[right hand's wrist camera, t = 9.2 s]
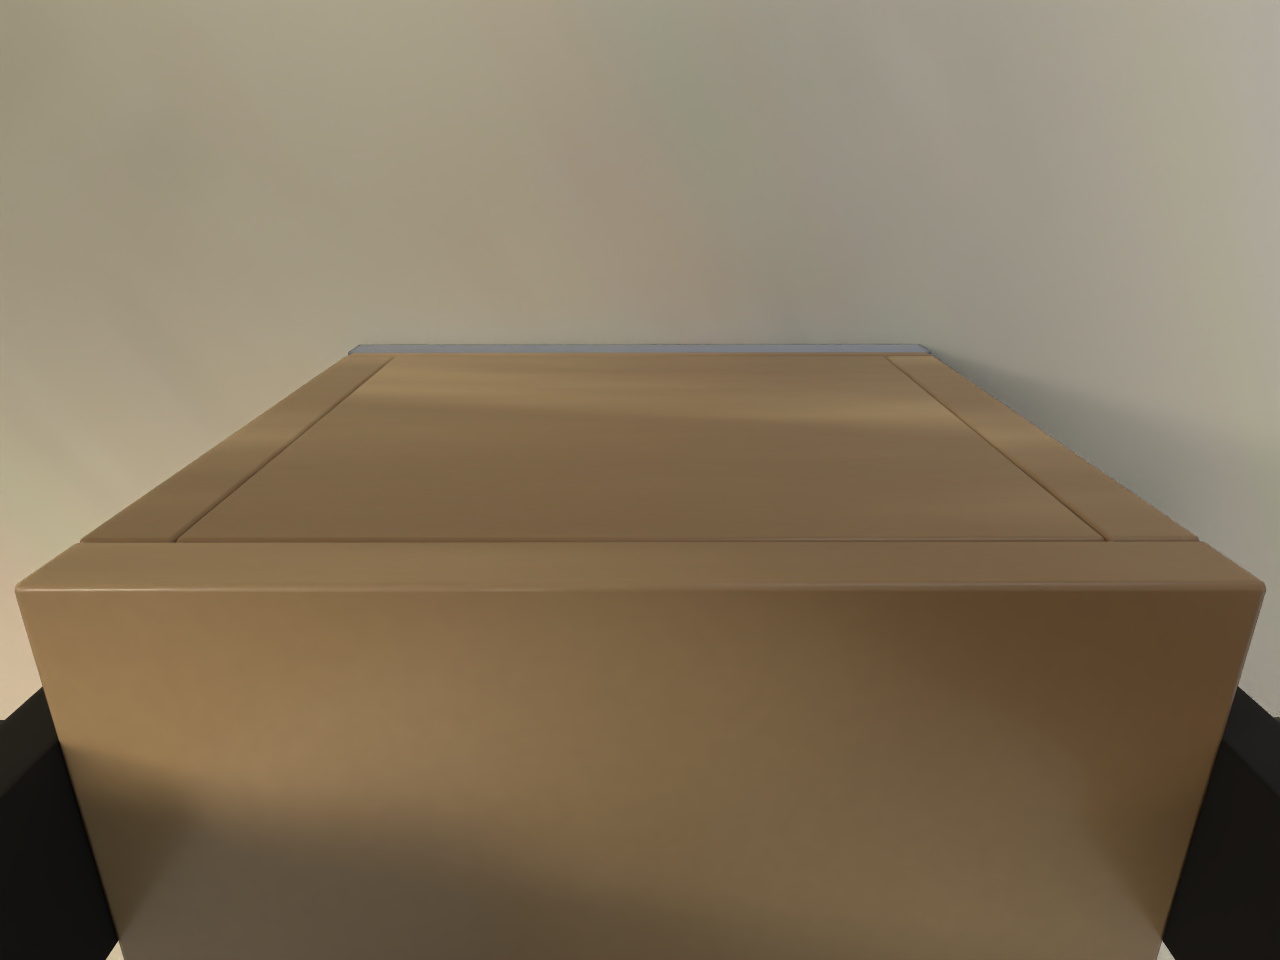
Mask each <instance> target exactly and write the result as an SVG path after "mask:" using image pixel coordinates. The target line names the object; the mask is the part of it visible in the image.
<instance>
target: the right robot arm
mask: <svg viewBox="0 0 1280 960" xmlns="http://www.w3.org/2000/svg"><path fill="white" fill-rule="evenodd" d="M1162 941H1163V942H1164V944H1165V945H1166V947H1167V948H1168V950H1169V951H1170V953H1171V954H1172V956H1173V957H1174V959H1175V960H1280V717H1272V716H1271V715H1270V714H1269V713H1268V712H1266V711H1265V710H1264V709H1263V708H1262V707H1261V706H1260V705H1259V704H1257V703H1256V702H1255V701H1254V700H1253V699H1252V698H1251V697H1250V696H1248V695H1247V694H1246V693H1245V692H1244V691H1243V690H1242V689H1241V688H1239V687H1238V686H1237V690H1236V693H1235V696H1234V700H1233V703H1232V706H1231V710H1230V713H1229V717H1228V720H1227V723H1226V727H1225V730H1224V733H1223V737H1222V740H1221V744H1220V747H1219V750H1218V754H1217V757H1216V760H1215V764H1214V767H1213V771H1212V774H1211V777H1210V781H1209V784H1208V787H1207V791H1206V794H1205V798H1204V801H1203V804H1202V808H1201V811H1200V814H1199V818H1198V821H1197V824H1196V828H1195V831H1194V835H1193V838H1192V841H1191V845H1190V848H1189V851H1188V855H1187V858H1186V862H1185V865H1184V868H1183V872H1182V875H1181V878H1180V882H1179V885H1178V889H1177V892H1176V895H1175V899H1174V902H1173V905H1172V909H1171V912H1170V916H1169V919H1168V922H1167V926H1166V929H1165V932H1164V936H1163V939H1162ZM117 942H118V937H117V934H116V930H115V927H114V924H113V920H112V917H111V914H110V910H109V907H108V903H107V900H106V897H105V893H104V890H103V887H102V883H101V880H100V877H99V873H98V870H97V866H96V863H95V860H94V856H93V853H92V850H91V846H90V843H89V840H88V836H87V833H86V830H85V826H84V823H83V819H82V816H81V813H80V809H79V806H78V803H77V799H76V796H75V793H74V789H73V786H72V783H71V779H70V776H69V772H68V769H67V766H66V762H65V759H64V756H63V752H62V749H61V746H60V742H59V739H58V736H57V732H56V729H55V725H54V722H53V719H52V715H51V712H50V709H49V705H48V702H47V699H46V695H45V692H44V689H43V687H42V688H40V689H39V690H38V691H37V692H36V693H35V694H34V695H33V696H31V697H30V698H29V699H28V700H27V701H26V702H25V703H24V704H22V705H21V706H20V707H19V708H18V709H17V710H16V711H15V712H13V713H12V714H11V715H10V716H9V717H8V718H7V719H6V720H0V960H106V958H107V957H108V955H109V954H110V952H111V951H112V949H113V948H114V946H115V945H116V943H117Z"/></svg>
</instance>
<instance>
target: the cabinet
mask: <svg viewBox="0 0 1280 960" xmlns="http://www.w3.org/2000/svg"><path fill="white" fill-rule="evenodd" d="M348 354H349V355H348V356H347V357H344V358H343V359H341V360H340V361H338V362H337V363H335V364H334V365H332V366H331V367H330V368H328V369H327V370H325V371H324V372H322V373H321V374H319V375H318V376H317V377H315V378H314V379H312V380H311V381H309V382H308V383H306V384H305V385H303V386H302V387H301V388H299V389H298V390H296V391H295V392H293V393H292V394H290V395H289V396H288V397H286V398H285V399H283V400H282V401H280V402H279V403H277V404H276V405H274V406H273V407H272V408H270V409H269V410H267V411H266V412H264V413H263V414H261V415H260V416H259V417H257V418H256V419H254V420H253V421H251V422H250V423H248V424H247V425H246V426H244V427H243V428H241V429H240V430H238V431H237V432H235V433H234V434H232V435H231V436H230V437H228V438H227V439H225V440H224V441H222V442H221V443H219V444H218V445H217V446H215V447H214V448H212V449H211V450H209V451H208V452H206V453H205V454H204V455H202V456H201V457H199V458H198V459H196V460H195V461H193V462H192V463H190V464H189V465H188V466H186V467H185V468H183V469H182V470H180V471H179V472H177V473H176V474H175V475H173V476H172V477H170V478H169V479H167V480H166V481H164V482H163V483H161V484H160V485H159V486H157V487H156V488H154V489H153V490H151V491H150V492H148V493H147V494H146V495H144V496H143V497H141V498H140V499H138V500H137V501H135V502H134V503H133V504H131V505H130V506H128V507H127V508H125V509H124V510H122V511H121V512H119V513H118V514H117V515H115V516H114V517H112V518H111V519H109V520H108V521H106V522H105V523H104V524H102V525H101V526H99V527H98V528H96V529H95V530H93V531H92V532H91V533H89V534H88V535H86V536H85V537H83V538H82V539H81V540H80V543H77V544H75V545H73V546H71V547H70V548H68V549H67V550H65V551H64V552H63V553H61V554H60V555H58V556H57V557H55V558H54V559H52V560H51V561H50V562H48V563H47V564H45V565H44V566H42V567H41V568H39V569H38V570H37V571H35V572H34V573H32V574H31V575H29V576H28V577H26V578H25V579H24V580H22V581H21V582H19V583H18V584H17V585H16V587H15V594H16V598H17V601H18V605H19V608H20V611H21V615H22V618H23V621H24V625H25V628H26V631H27V635H28V638H29V641H30V645H31V648H32V652H33V655H34V658H35V662H36V665H37V668H38V672H39V675H40V678H41V682H42V685H43V689H44V692H45V695H46V699H47V702H48V705H49V709H50V712H51V715H52V719H53V722H54V725H55V729H56V732H57V736H58V739H59V742H60V746H61V749H62V752H63V756H64V759H65V762H66V766H67V769H68V772H69V776H70V779H71V783H72V786H73V789H74V793H75V796H76V799H77V803H78V806H79V809H80V813H81V816H82V819H83V823H84V826H85V830H86V833H87V836H88V840H89V843H90V846H91V850H92V853H93V856H94V860H95V863H96V866H97V870H98V873H99V877H100V880H101V883H102V887H103V890H104V893H105V897H106V900H107V903H108V907H109V910H110V914H111V917H112V920H113V924H114V927H115V930H116V934H117V937H118V940H119V944H120V947H121V950H122V954H123V957H124V960H1156V959H1157V956H1158V953H1159V949H1160V946H1161V942H1162V939H1163V936H1164V932H1165V929H1166V926H1167V922H1168V919H1169V916H1170V912H1171V909H1172V905H1173V902H1174V899H1175V895H1176V892H1177V889H1178V885H1179V882H1180V878H1181V875H1182V872H1183V868H1184V865H1185V862H1186V858H1187V855H1188V851H1189V848H1190V845H1191V841H1192V838H1193V835H1194V831H1195V828H1196V824H1197V821H1198V818H1199V814H1200V811H1201V808H1202V804H1203V801H1204V798H1205V794H1206V791H1207V787H1208V784H1209V781H1210V777H1211V774H1212V771H1213V767H1214V764H1215V760H1216V757H1217V754H1218V750H1219V747H1220V744H1221V740H1222V737H1223V733H1224V730H1225V727H1226V723H1227V720H1228V717H1229V713H1230V710H1231V706H1232V703H1233V700H1234V696H1235V693H1236V690H1237V686H1238V683H1239V680H1240V676H1241V673H1242V669H1243V666H1244V663H1245V659H1246V656H1247V653H1248V649H1249V646H1250V642H1251V639H1252V636H1253V632H1254V629H1255V626H1256V622H1257V619H1258V615H1259V612H1260V609H1261V605H1262V602H1263V599H1264V595H1265V592H1266V587H1265V584H1264V583H1263V582H1262V581H1261V580H1259V579H1258V578H1256V577H1255V576H1253V575H1252V574H1251V573H1249V572H1248V571H1246V570H1245V569H1243V568H1242V567H1240V566H1239V565H1237V564H1236V563H1234V562H1233V561H1232V560H1230V559H1229V558H1227V557H1226V556H1224V555H1223V554H1221V553H1220V552H1218V551H1217V550H1215V549H1214V548H1213V547H1211V546H1210V545H1208V544H1206V543H1204V542H1199V539H1198V537H1197V536H1195V535H1194V534H1192V533H1191V532H1189V531H1188V530H1186V529H1185V528H1183V527H1182V526H1181V525H1179V524H1178V523H1176V522H1175V521H1173V520H1172V519H1170V518H1169V517H1167V516H1166V515H1164V514H1163V513H1162V512H1160V511H1159V510H1157V509H1156V508H1154V507H1153V506H1151V505H1150V504H1148V503H1147V502H1145V501H1144V500H1143V499H1141V498H1140V497H1138V496H1137V495H1135V494H1134V493H1132V492H1131V491H1129V490H1128V489H1127V488H1125V487H1124V486H1122V485H1121V484H1119V483H1118V482H1116V481H1115V480H1113V479H1112V478H1110V477H1109V476H1108V475H1106V474H1105V473H1103V472H1102V471H1100V470H1099V469H1097V468H1096V467H1094V466H1093V465H1091V464H1090V463H1089V462H1087V461H1086V460H1084V459H1083V458H1081V457H1080V456H1078V455H1077V454H1075V453H1074V452H1073V451H1071V450H1070V449H1068V448H1067V447H1065V446H1064V445H1062V444H1061V443H1059V442H1058V441H1056V440H1055V439H1054V438H1052V437H1051V436H1049V435H1048V434H1046V433H1045V432H1043V431H1042V430H1040V429H1039V428H1037V427H1036V426H1035V425H1033V424H1032V423H1030V422H1029V421H1027V420H1026V419H1024V418H1023V417H1021V416H1020V415H1019V414H1017V413H1016V412H1014V411H1013V410H1011V409H1010V408H1008V407H1007V406H1005V405H1004V404H1002V403H1001V402H1000V401H998V400H997V399H995V398H994V397H992V396H991V395H989V394H988V393H986V392H985V391H983V390H982V389H981V388H979V387H978V386H976V385H975V384H973V383H972V382H970V381H969V380H967V379H966V378H965V377H963V376H962V375H960V374H959V373H957V372H956V371H954V370H953V369H951V368H950V367H948V366H947V365H946V364H944V363H943V362H941V361H940V360H938V359H937V358H935V357H933V356H932V355H931V352H930V351H929V350H927V349H926V348H924V347H923V346H921V345H920V344H828V345H358V346H357V347H355V348H354V349H353V350H351V351H350V352H348Z"/></svg>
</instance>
